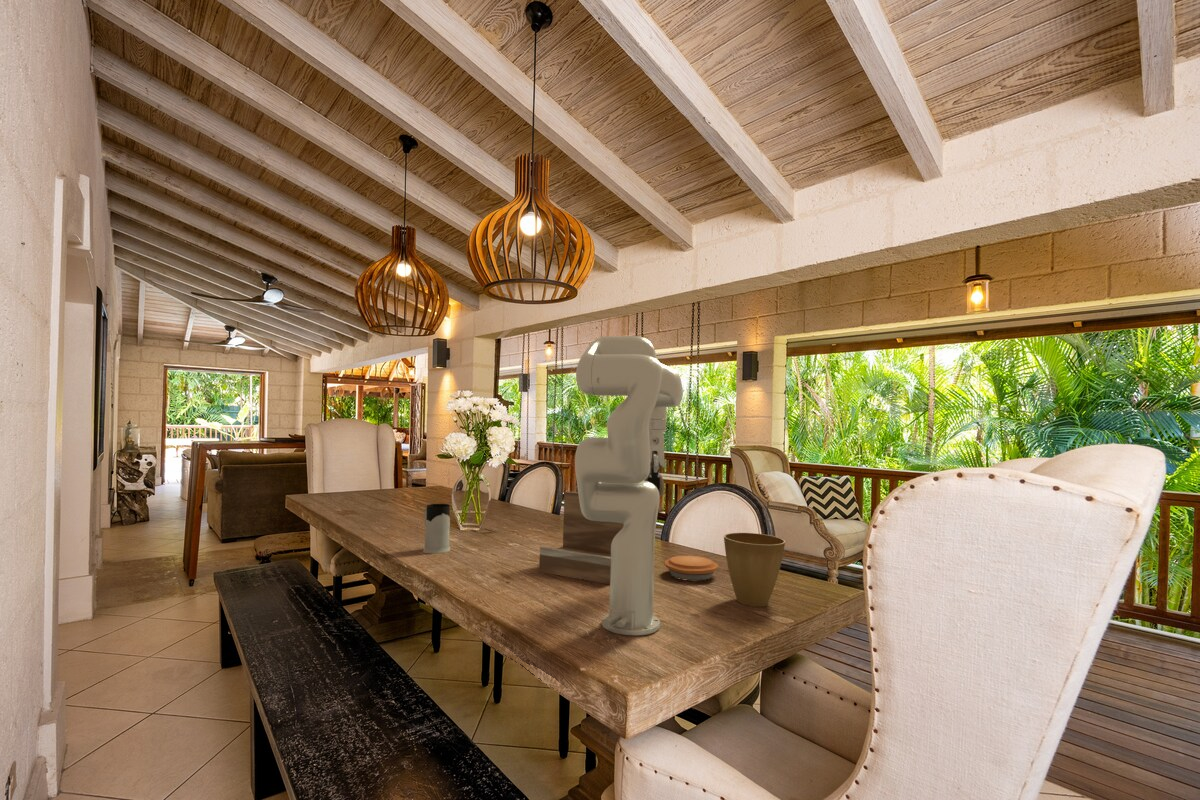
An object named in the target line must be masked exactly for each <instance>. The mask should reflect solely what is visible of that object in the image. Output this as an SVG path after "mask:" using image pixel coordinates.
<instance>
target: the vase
mask: <svg viewBox="0 0 1200 800" xmlns="http://www.w3.org/2000/svg"><path fill="white" fill-rule="evenodd" d="M648 477H649V475H648ZM648 477H647V478H646V479H645V480H644V481H648ZM659 478H660V492H659V496H660V498H661V497H662V496H663V494H664V491H665V481H664V478H663V476H662V474H660V477H659Z"/></svg>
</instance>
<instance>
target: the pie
mask: <svg viewBox="0 0 1200 800" xmlns="http://www.w3.org/2000/svg"><path fill="white" fill-rule="evenodd" d="M664 565H665V567H666V568H667V569H668V572H669V573H670V576H672V577H673V576H674V577H676V578H675V579H677V578H680V579H687V580H705V581H707V580H706V579H708V580H710V579H711V578H712V576H713V575H714V573H715V572H716V570H717V569H718V568H719V564H718V563H716V562H714V561H713V560H712V559H709V558H707V557H702V556H697V555H677V556H676V555H675V556H672V557H670V558H668V559H666V560H665V561H664ZM674 577H673V578H674ZM709 578H710V579H709ZM680 579H679V580H680Z"/></svg>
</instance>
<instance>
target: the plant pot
mask: <svg viewBox="0 0 1200 800" xmlns="http://www.w3.org/2000/svg"><path fill="white" fill-rule="evenodd" d="M723 543H724V552H725V557H726V563H727V569H728V573H729V577H730V580H731V581H730V582H731V585H732V588H733V592H734V594H735V598H736V600H737V602H738V603H740V604H742V605H744V606H745V605H746V606H749V607H750V606H751V607H765V606H767V605H768V603H769V602H770V599H771V596H772V594H773V592H774V589H775V586H776V582H777V579H778V577H779V572H780V570H781V565H782V562H783V561H782V560H783V557H784V552H785V545H786V540H784V539H783V538H780V537H777V536H775V535H770V534H764V533H755V532H731V533H725V534H723Z"/></svg>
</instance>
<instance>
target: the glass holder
mask: <svg viewBox="0 0 1200 800" xmlns="http://www.w3.org/2000/svg"><path fill="white" fill-rule="evenodd" d="M450 507H451V505H450V504H448V503H431V504H430V503H429V504H427V505H426V507H425V509H424V523H425V524H424V525H425V529H424V530H425V531H424V548H423V550H422V552H423V553H426V554H433V555H435V554H445V553H448V552H451V548H450V527H451V526H450V524H451V523H450V522H451V518H450V512H451V511H450V509H451V508H450Z"/></svg>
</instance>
